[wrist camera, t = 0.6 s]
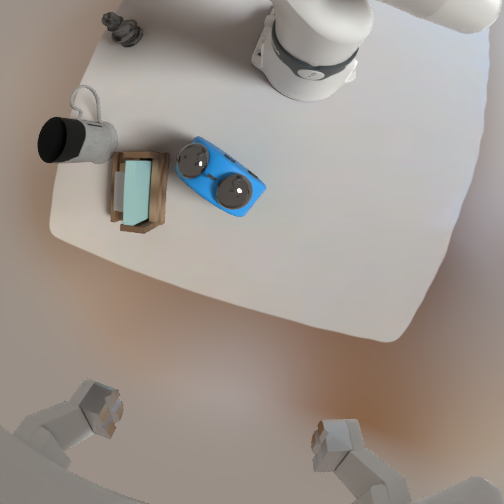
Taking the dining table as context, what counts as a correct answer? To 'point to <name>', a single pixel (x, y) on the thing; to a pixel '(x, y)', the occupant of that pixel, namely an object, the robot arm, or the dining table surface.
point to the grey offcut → (119, 190)
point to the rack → (156, 189)
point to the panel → (136, 191)
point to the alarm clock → (218, 177)
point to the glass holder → (77, 138)
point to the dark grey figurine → (122, 29)
